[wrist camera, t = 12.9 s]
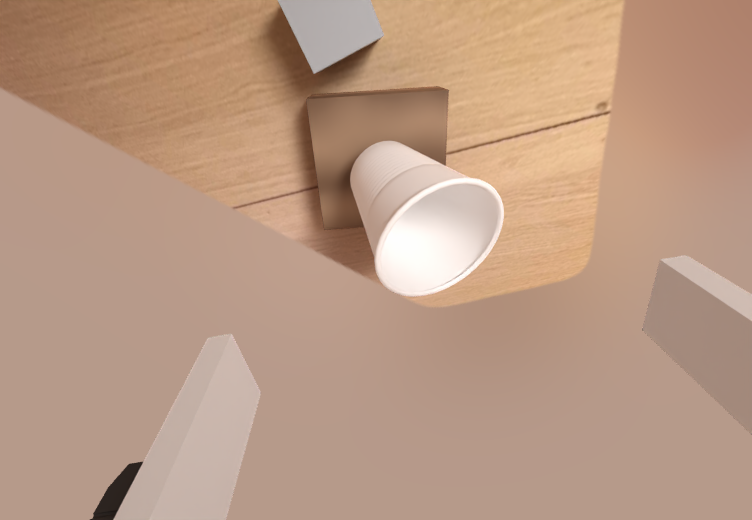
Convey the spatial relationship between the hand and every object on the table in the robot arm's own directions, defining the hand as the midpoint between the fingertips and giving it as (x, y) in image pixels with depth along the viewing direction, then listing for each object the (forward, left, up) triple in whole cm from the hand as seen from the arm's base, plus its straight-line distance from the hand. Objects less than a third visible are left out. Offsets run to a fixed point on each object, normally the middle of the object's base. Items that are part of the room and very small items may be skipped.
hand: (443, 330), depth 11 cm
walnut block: (+1, -1, -29) cm, 29 cm away
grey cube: (-11, -2, -29) cm, 31 cm away
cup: (+1, -1, -23) cm, 23 cm away
